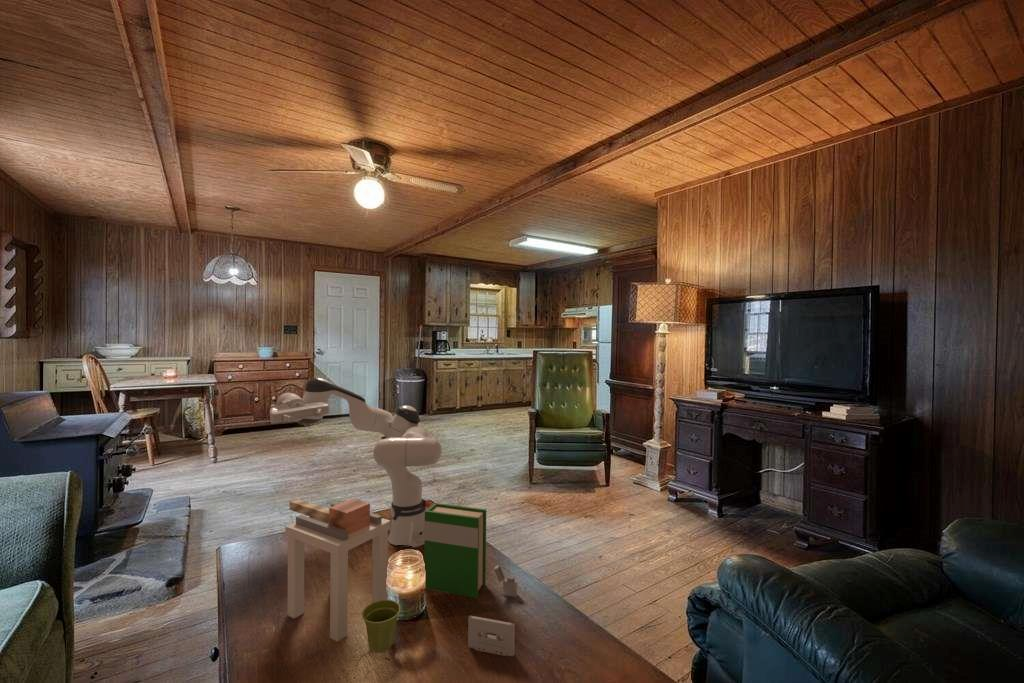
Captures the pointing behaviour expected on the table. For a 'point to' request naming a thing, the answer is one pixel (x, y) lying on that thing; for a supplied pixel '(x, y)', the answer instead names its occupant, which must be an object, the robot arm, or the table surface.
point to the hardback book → (455, 549)
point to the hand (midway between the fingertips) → (305, 417)
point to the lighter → (507, 583)
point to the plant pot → (381, 624)
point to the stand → (335, 563)
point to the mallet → (337, 513)
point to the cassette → (491, 636)
